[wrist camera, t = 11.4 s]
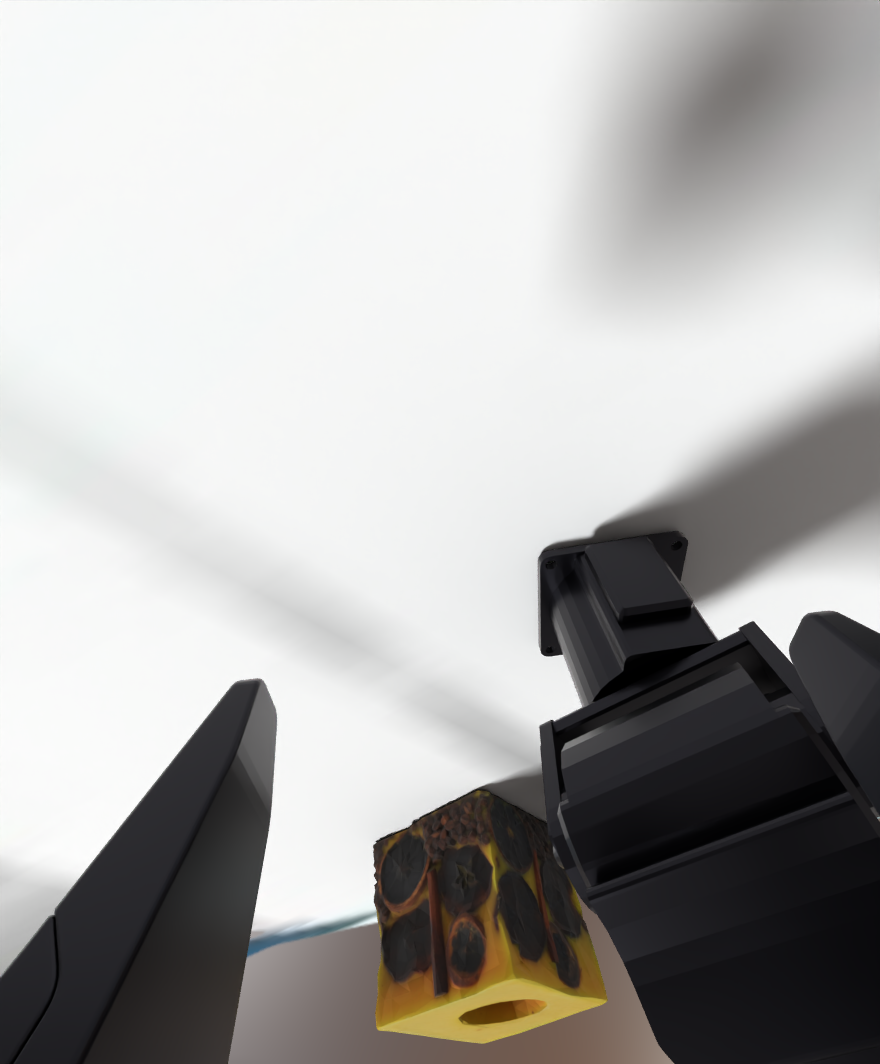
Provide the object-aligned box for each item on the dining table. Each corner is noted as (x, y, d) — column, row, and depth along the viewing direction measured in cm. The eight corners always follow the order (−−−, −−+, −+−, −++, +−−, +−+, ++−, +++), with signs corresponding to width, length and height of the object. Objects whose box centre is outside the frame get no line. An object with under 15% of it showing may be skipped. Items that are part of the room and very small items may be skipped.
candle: (370, 841, 37) (367, 1030, 29) (480, 782, 34) (511, 977, 26) (460, 877, 42) (479, 1048, 34) (564, 829, 39) (612, 1005, 31)
